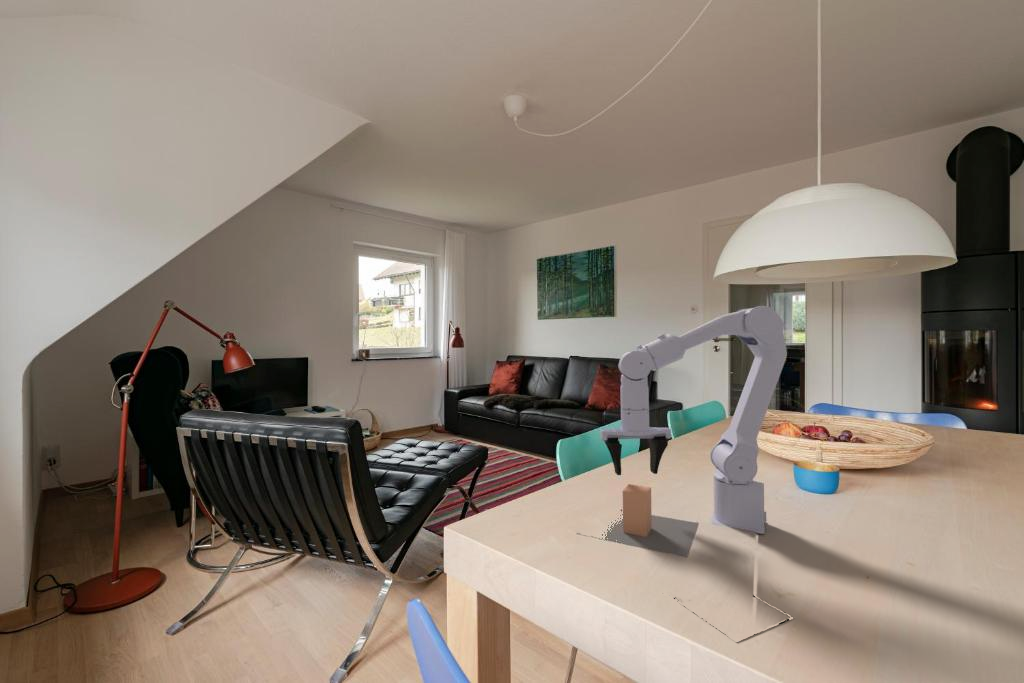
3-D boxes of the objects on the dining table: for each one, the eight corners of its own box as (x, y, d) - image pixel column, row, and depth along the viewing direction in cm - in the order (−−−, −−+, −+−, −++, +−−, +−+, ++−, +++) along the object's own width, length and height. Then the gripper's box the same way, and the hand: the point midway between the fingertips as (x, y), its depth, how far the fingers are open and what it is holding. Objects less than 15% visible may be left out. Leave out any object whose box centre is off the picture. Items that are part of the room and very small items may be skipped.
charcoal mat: (698, 526, 90) (698, 523, 90) (686, 560, 76) (686, 557, 76) (602, 509, 100) (602, 506, 100) (575, 536, 86) (575, 533, 86)
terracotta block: (651, 528, 88) (651, 487, 88) (646, 536, 84) (645, 494, 84) (629, 523, 90) (628, 484, 90) (623, 532, 87) (622, 490, 87)
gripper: (661, 404, 99) (662, 466, 99) (595, 406, 98) (597, 468, 98) (674, 409, 92) (675, 476, 92) (604, 411, 91) (605, 478, 91)
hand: (636, 473), depth 94 cm, fingers open, 7 cm apart
